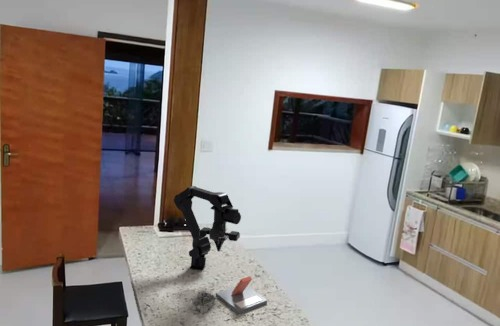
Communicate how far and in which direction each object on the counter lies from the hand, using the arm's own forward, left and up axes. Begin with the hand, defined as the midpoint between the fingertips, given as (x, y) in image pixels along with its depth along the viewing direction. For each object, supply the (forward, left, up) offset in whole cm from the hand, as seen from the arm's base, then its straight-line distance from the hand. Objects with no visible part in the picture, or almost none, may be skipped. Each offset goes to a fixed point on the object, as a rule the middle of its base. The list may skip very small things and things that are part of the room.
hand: (218, 251), depth 190 cm
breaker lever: (+11, -16, -11) cm, 23 cm away
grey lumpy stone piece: (-2, -27, -13) cm, 30 cm away
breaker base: (+14, -18, -13) cm, 26 cm away
